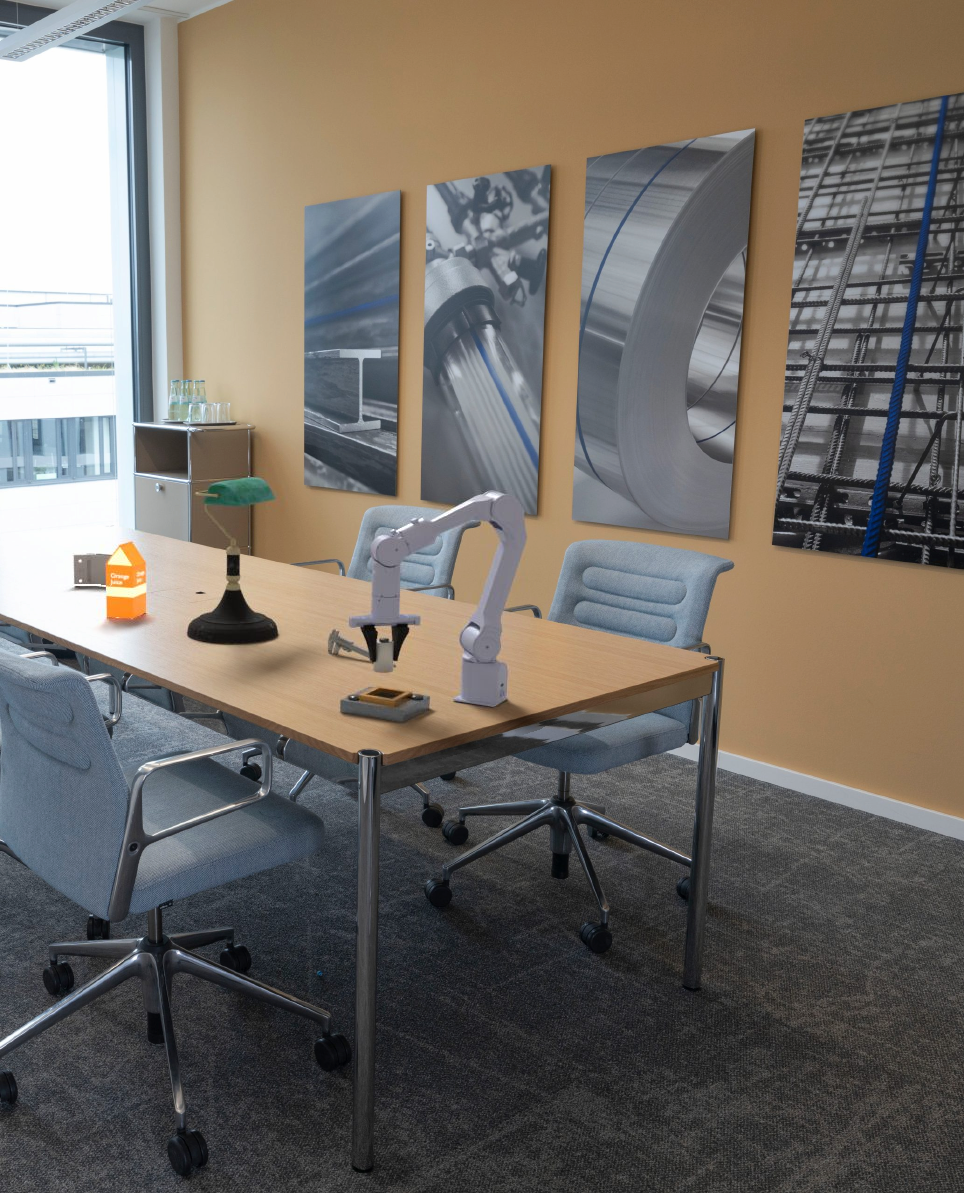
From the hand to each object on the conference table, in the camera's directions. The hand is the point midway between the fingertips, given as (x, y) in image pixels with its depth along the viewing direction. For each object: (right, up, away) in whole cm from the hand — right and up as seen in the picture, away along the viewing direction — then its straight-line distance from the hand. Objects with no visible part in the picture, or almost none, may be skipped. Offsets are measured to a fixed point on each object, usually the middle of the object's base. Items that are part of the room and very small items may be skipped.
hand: (383, 660), depth 223 cm
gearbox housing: (0, -10, -2) cm, 10 cm away
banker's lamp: (-45, +3, +60) cm, 75 cm away
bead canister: (0, -2, +1) cm, 2 cm away
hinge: (-99, +16, +116) cm, 154 cm away
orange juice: (-77, +8, +76) cm, 109 cm away
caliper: (-9, -2, +39) cm, 40 cm away
